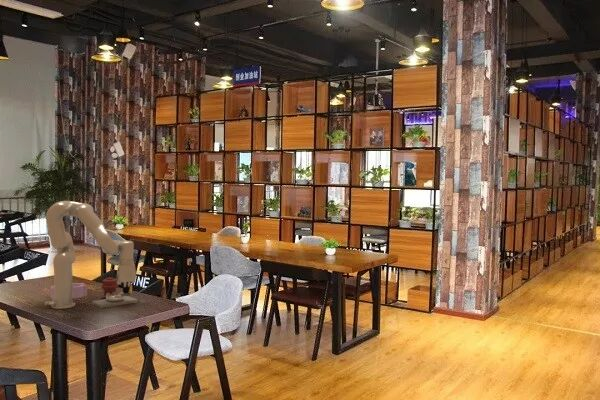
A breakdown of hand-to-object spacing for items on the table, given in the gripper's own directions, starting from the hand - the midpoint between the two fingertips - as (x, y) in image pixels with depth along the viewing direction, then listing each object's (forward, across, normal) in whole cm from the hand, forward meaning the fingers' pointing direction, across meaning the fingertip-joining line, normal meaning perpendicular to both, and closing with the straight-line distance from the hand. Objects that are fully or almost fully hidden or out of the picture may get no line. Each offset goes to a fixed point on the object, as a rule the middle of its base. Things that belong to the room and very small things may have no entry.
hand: (125, 293), depth 311 cm
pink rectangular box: (+8, -17, +41) cm, 46 cm away
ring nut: (+5, -1, +7) cm, 9 cm away
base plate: (+7, -3, +8) cm, 11 cm away
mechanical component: (+7, 0, +22) cm, 23 cm away
